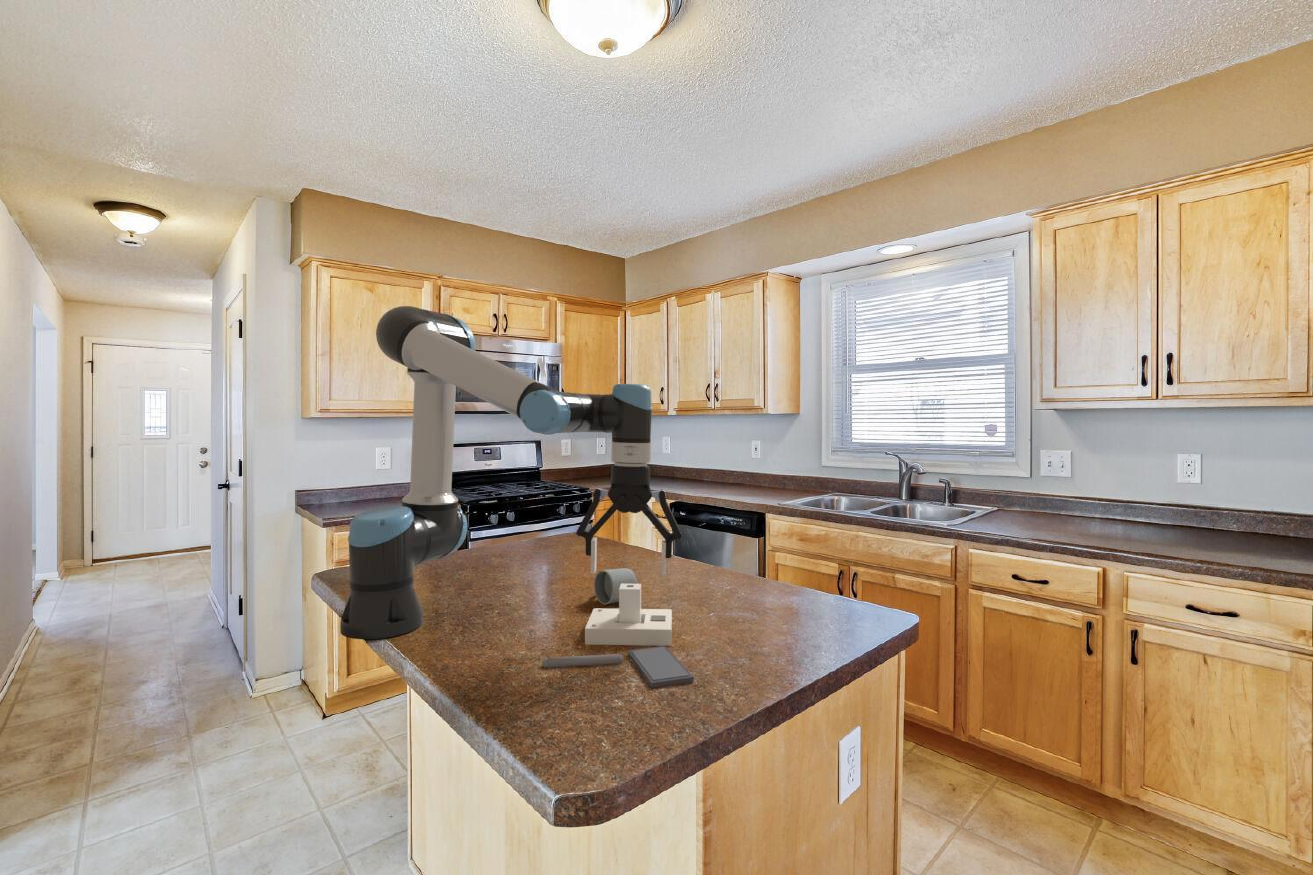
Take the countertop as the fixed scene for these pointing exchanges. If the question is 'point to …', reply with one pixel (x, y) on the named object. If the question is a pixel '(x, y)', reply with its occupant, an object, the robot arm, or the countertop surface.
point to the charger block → (630, 603)
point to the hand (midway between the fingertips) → (628, 573)
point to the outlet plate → (629, 628)
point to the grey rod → (582, 660)
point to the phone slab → (660, 666)
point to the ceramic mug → (612, 584)
